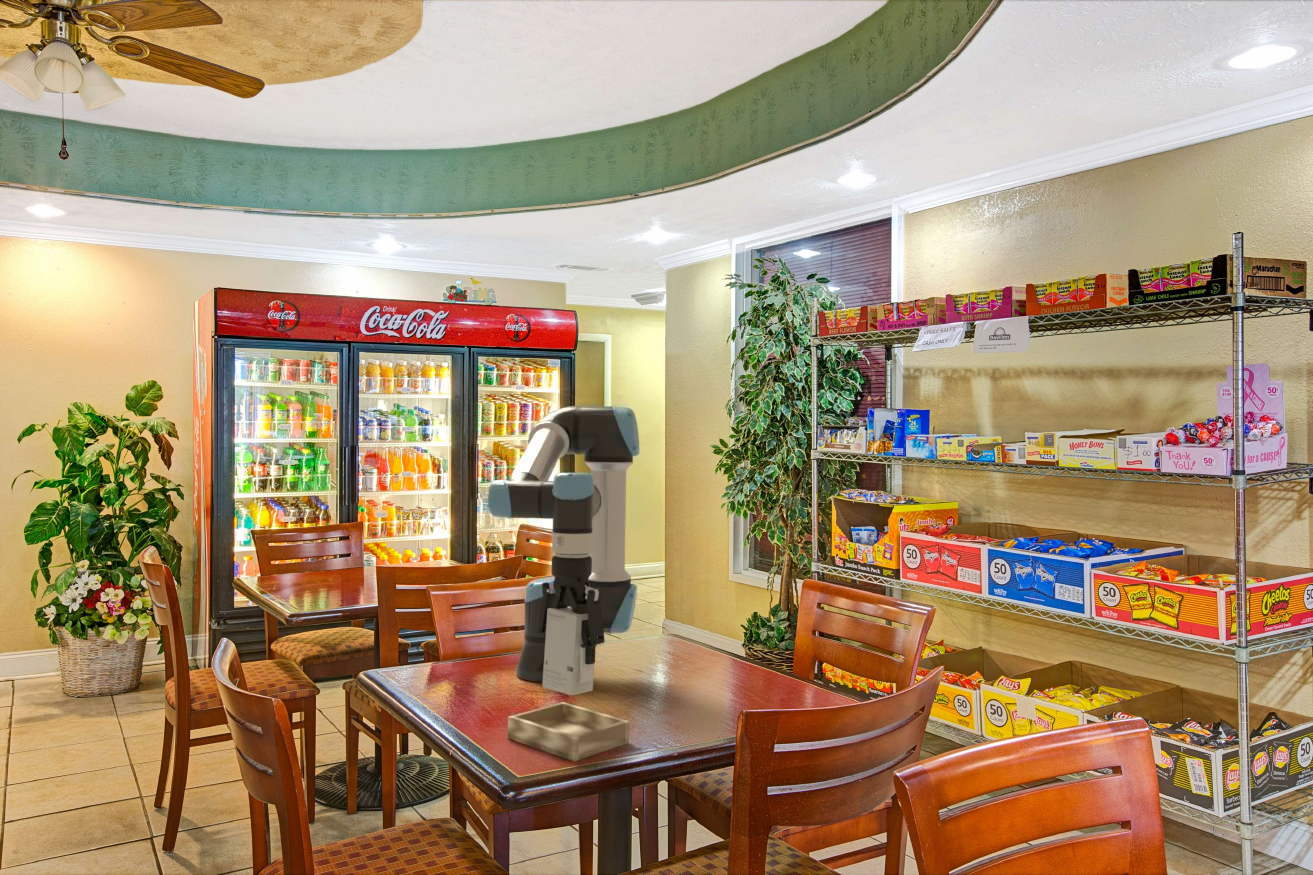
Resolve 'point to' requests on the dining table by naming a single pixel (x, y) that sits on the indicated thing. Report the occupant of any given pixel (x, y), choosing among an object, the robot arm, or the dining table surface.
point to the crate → (568, 730)
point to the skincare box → (564, 652)
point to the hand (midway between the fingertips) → (569, 676)
